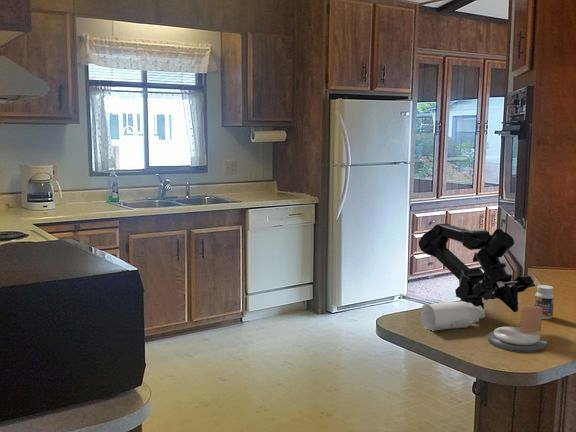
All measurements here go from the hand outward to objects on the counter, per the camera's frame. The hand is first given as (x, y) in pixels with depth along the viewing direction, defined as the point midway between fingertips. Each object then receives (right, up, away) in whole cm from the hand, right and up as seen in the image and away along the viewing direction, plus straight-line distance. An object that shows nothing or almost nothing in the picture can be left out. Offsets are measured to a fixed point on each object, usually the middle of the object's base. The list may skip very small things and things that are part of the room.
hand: (516, 311), depth 177 cm
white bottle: (-17, -6, +8) cm, 20 cm away
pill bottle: (+16, -5, +19) cm, 25 cm away
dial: (-1, -6, -5) cm, 8 cm away
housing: (-2, -8, -5) cm, 10 cm away
